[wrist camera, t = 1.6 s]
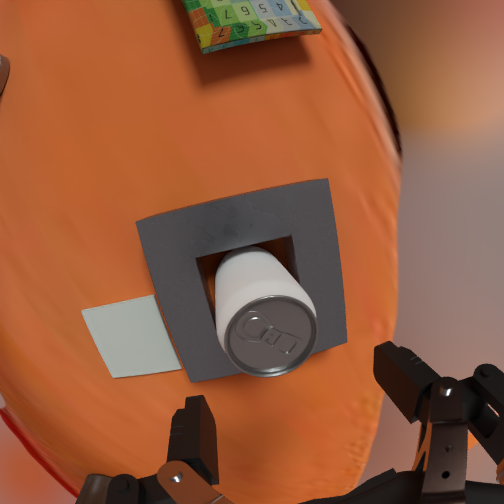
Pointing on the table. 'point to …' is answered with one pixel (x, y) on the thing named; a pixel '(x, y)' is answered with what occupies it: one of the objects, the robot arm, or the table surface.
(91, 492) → the plant pot
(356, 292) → the table surface
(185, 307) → the hollow block
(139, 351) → the mat
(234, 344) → the can
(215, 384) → the table surface
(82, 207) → the table surface
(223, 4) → the puzzle game
